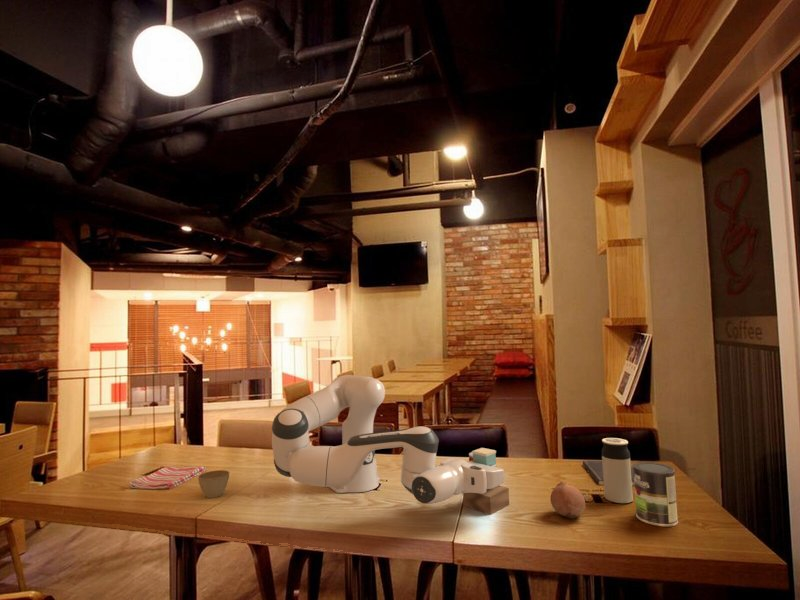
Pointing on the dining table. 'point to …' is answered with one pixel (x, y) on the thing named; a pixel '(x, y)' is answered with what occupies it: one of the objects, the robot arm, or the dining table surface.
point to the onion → (567, 500)
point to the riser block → (488, 500)
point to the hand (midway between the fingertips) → (486, 465)
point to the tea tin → (484, 456)
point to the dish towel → (167, 478)
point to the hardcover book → (600, 471)
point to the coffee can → (655, 494)
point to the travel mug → (617, 470)
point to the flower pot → (213, 482)
